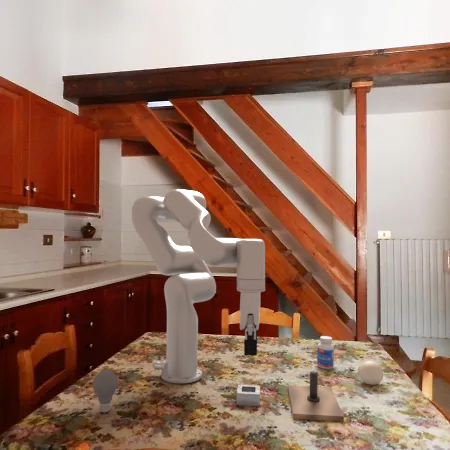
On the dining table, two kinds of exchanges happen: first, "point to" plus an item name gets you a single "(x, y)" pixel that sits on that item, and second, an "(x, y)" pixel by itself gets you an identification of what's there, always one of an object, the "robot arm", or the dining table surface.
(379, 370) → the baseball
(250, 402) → the link
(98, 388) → the light bulb
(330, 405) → the peg on tan base
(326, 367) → the pill bottle
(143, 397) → the dining table surface
